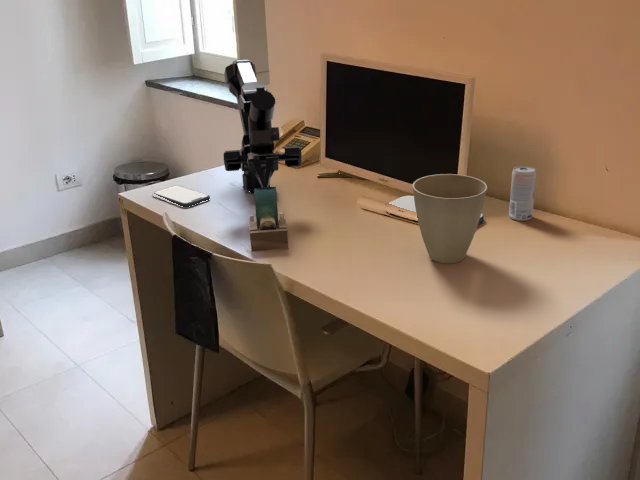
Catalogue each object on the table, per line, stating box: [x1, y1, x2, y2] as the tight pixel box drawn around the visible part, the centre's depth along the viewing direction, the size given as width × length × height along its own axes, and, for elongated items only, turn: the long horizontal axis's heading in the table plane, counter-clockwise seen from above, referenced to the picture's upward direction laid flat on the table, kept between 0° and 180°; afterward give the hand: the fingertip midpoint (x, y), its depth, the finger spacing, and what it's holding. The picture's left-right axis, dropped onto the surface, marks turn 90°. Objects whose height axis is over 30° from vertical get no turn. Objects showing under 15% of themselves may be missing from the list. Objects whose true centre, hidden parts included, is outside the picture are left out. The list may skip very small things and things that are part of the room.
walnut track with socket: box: [249, 213, 289, 252], centre depth 158 cm, size 17×8×4 cm, turn 6°
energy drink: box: [508, 165, 537, 222], centre depth 161 cm, size 5×5×12 cm
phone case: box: [154, 185, 211, 208], centre depth 185 cm, size 9×2×16 cm
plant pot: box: [412, 173, 488, 264], centre depth 141 cm, size 15×15×16 cm
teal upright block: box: [253, 186, 279, 231], centre depth 159 cm, size 8×5×9 cm, turn 6°
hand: (265, 189), depth 163 cm, fingers closed
